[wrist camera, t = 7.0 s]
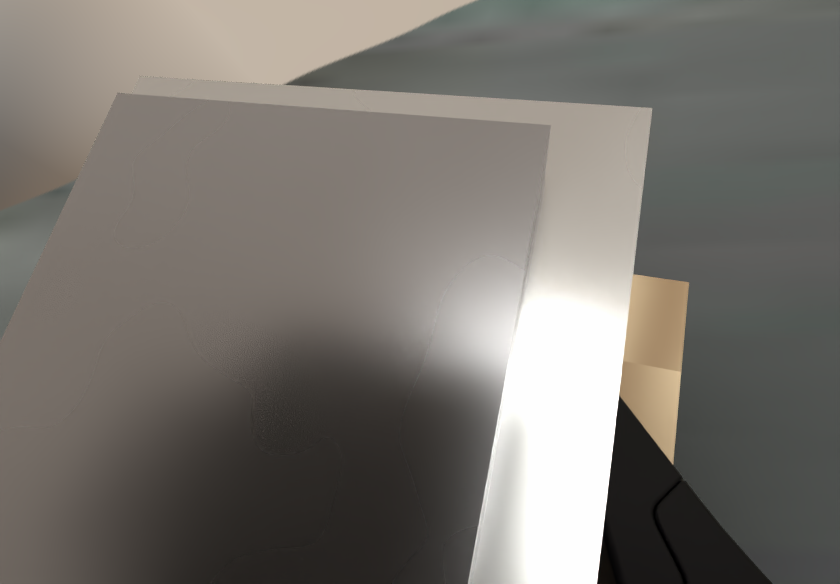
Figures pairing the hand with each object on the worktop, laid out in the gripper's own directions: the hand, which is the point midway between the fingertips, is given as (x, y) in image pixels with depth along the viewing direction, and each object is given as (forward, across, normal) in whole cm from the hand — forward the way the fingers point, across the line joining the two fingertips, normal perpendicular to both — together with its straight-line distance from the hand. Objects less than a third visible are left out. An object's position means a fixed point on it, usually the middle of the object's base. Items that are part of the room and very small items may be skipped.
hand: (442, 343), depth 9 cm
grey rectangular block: (+4, 0, +6) cm, 7 cm away
